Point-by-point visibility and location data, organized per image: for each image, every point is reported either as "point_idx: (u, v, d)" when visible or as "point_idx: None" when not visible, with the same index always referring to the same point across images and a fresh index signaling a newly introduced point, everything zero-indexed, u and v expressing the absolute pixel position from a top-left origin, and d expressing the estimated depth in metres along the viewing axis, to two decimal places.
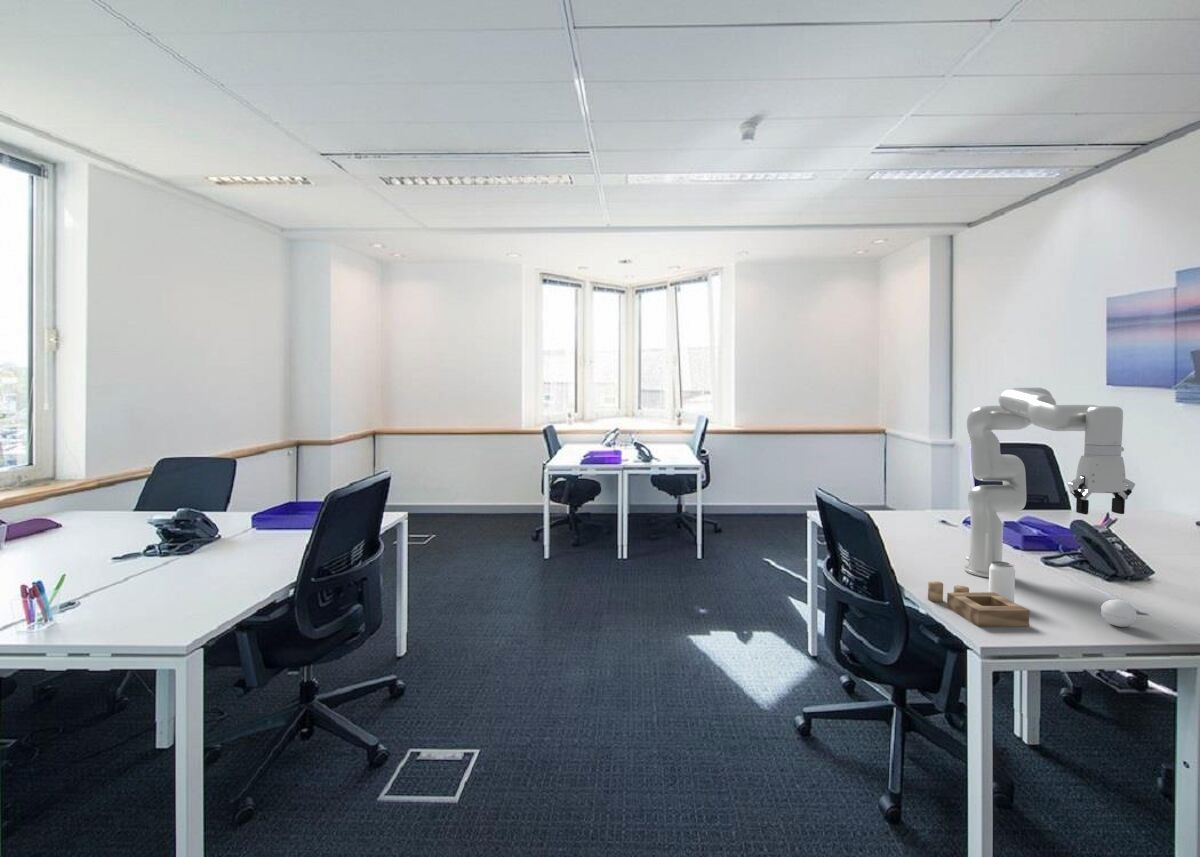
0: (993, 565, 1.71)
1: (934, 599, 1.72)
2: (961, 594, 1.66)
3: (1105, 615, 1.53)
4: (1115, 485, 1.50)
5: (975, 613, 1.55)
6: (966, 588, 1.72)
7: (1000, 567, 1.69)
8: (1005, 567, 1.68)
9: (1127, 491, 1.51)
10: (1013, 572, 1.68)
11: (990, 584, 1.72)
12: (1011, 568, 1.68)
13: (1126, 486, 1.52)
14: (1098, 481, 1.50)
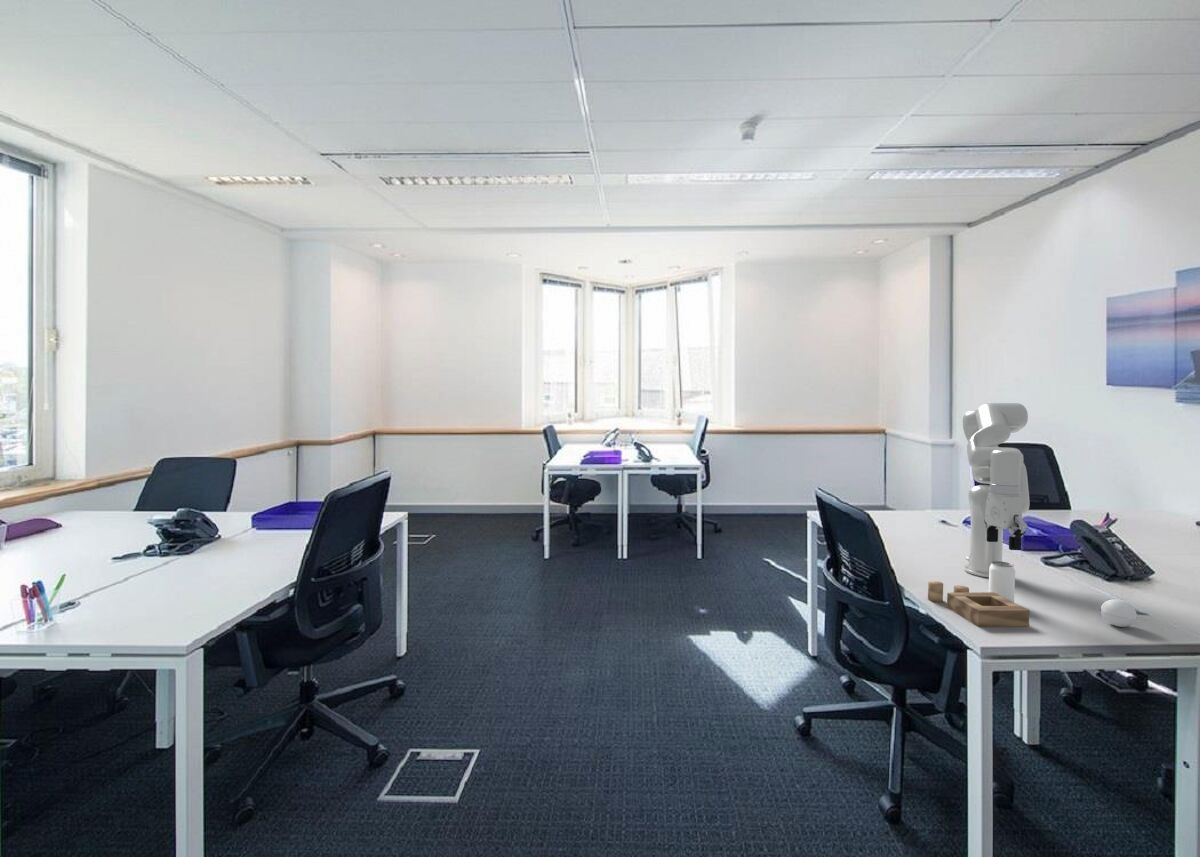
0: (993, 565, 1.71)
1: (934, 599, 1.72)
2: (961, 594, 1.66)
3: (1105, 615, 1.53)
4: None
5: (975, 613, 1.55)
6: (966, 588, 1.72)
7: (1000, 567, 1.69)
8: (1005, 567, 1.68)
9: None
10: (1013, 572, 1.68)
11: (990, 584, 1.72)
12: (1011, 568, 1.68)
13: None
14: None
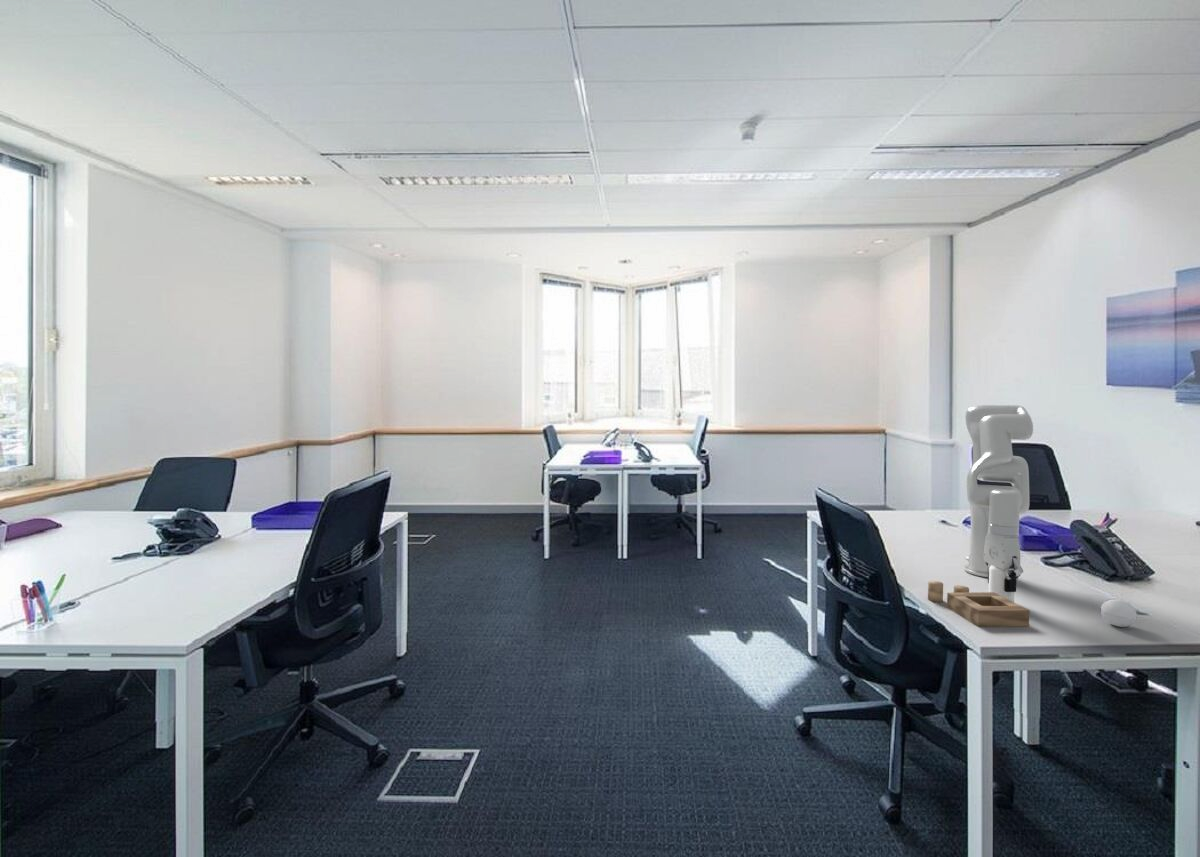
0: (993, 565, 1.71)
1: (934, 599, 1.72)
2: (961, 594, 1.66)
3: (1105, 615, 1.53)
4: None
5: (975, 613, 1.55)
6: (966, 588, 1.72)
7: None
8: None
9: None
10: None
11: (990, 584, 1.72)
12: None
13: None
14: None
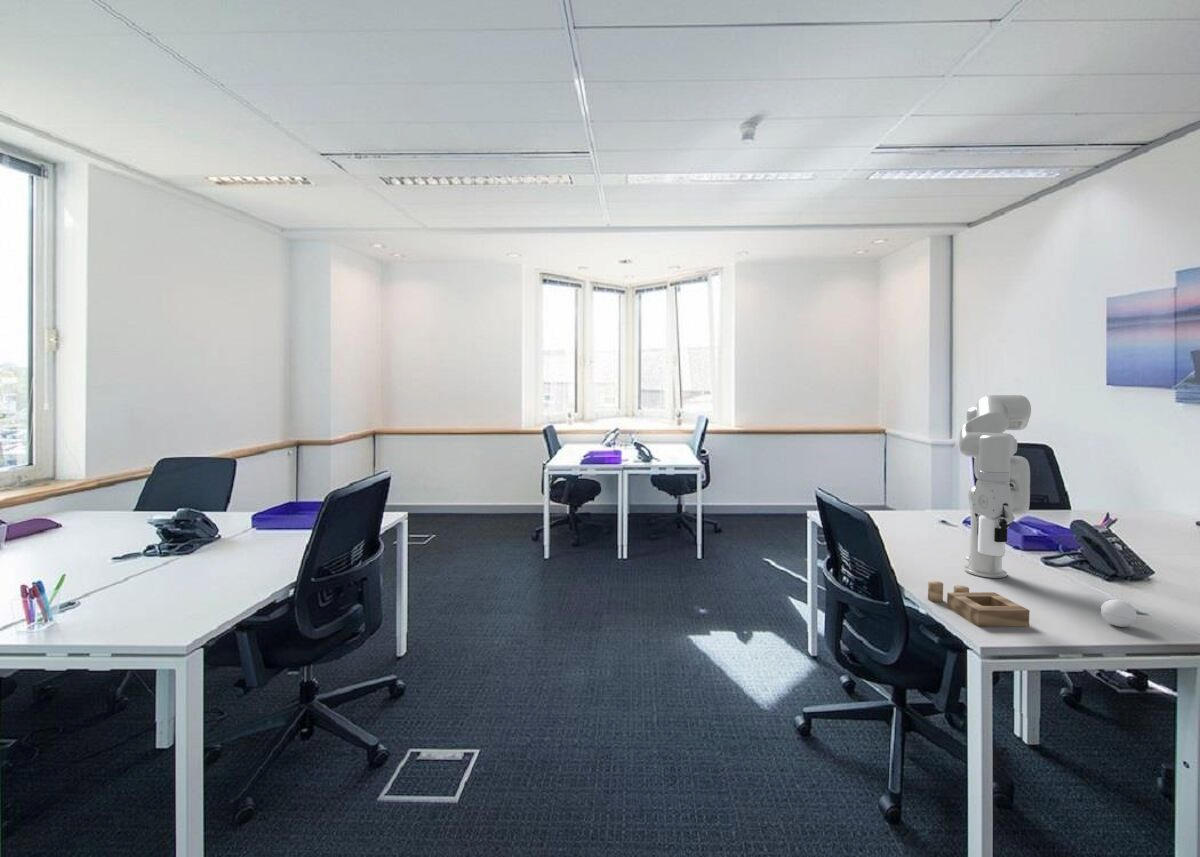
0: None
1: (934, 599, 1.72)
2: (961, 594, 1.66)
3: (1105, 615, 1.53)
4: None
5: (975, 613, 1.55)
6: (966, 588, 1.72)
7: None
8: None
9: None
10: None
11: (980, 535, 1.62)
12: None
13: None
14: None
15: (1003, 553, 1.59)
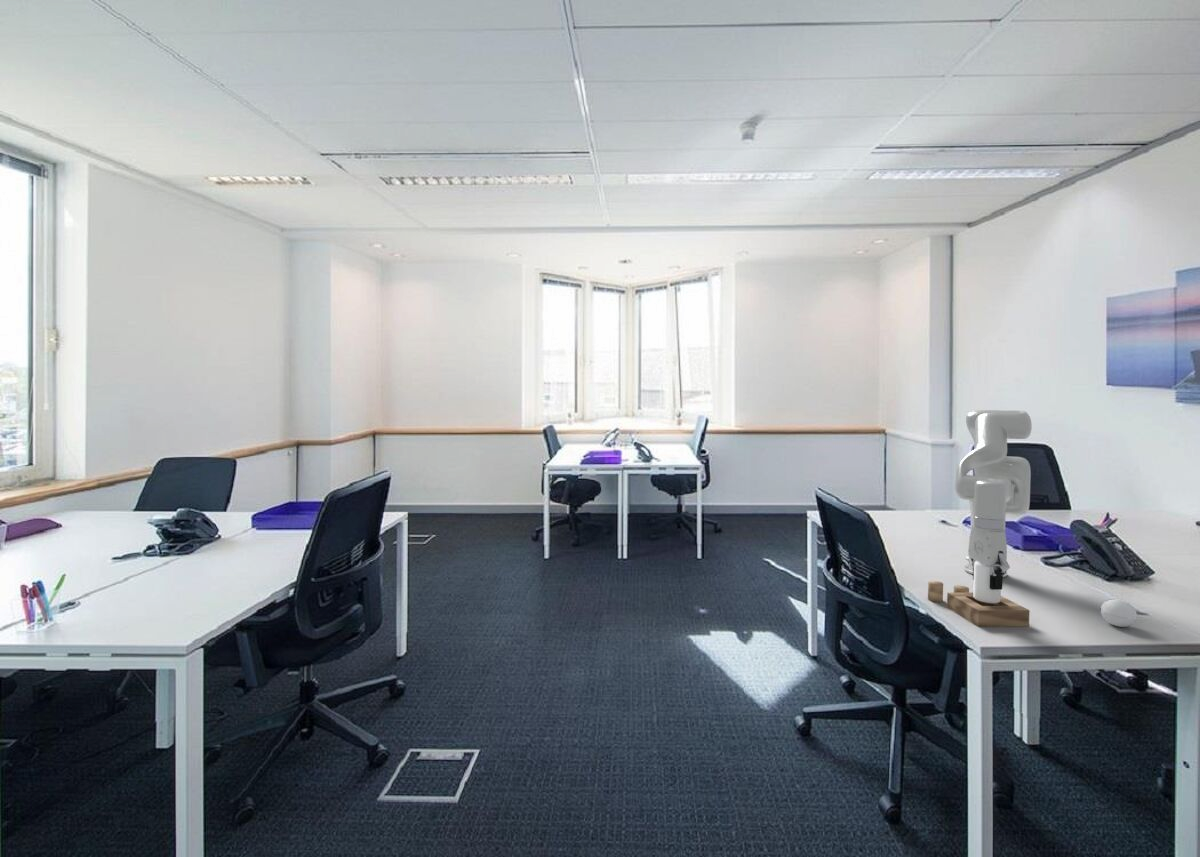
0: (978, 561, 1.60)
1: (934, 599, 1.72)
2: (961, 594, 1.66)
3: (1105, 615, 1.53)
4: None
5: (975, 613, 1.55)
6: (966, 588, 1.72)
7: None
8: None
9: None
10: None
11: (975, 581, 1.61)
12: None
13: None
14: None
15: (998, 600, 1.58)
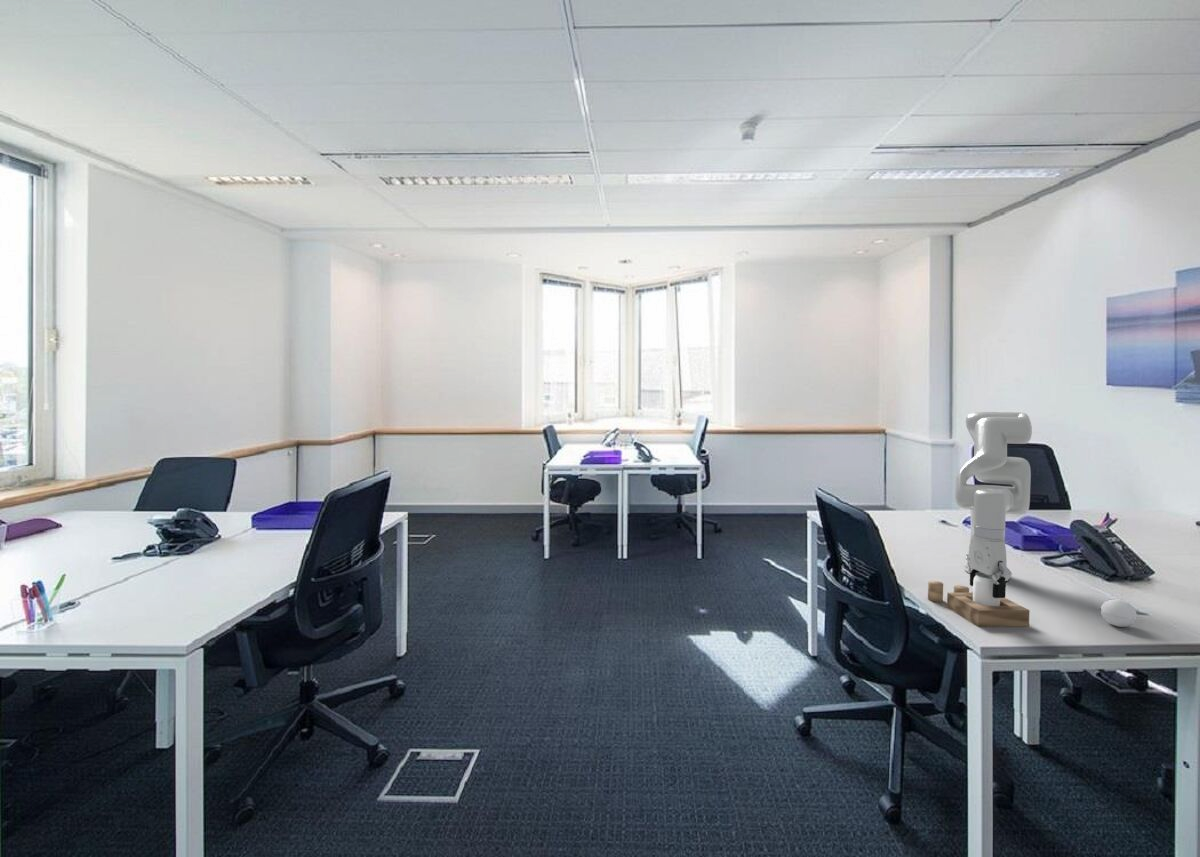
0: (977, 577, 1.60)
1: (934, 599, 1.72)
2: (961, 594, 1.66)
3: (1105, 615, 1.53)
4: None
5: (975, 613, 1.55)
6: (966, 588, 1.72)
7: (984, 579, 1.58)
8: (990, 579, 1.58)
9: None
10: None
11: (974, 597, 1.61)
12: None
13: None
14: None
15: None
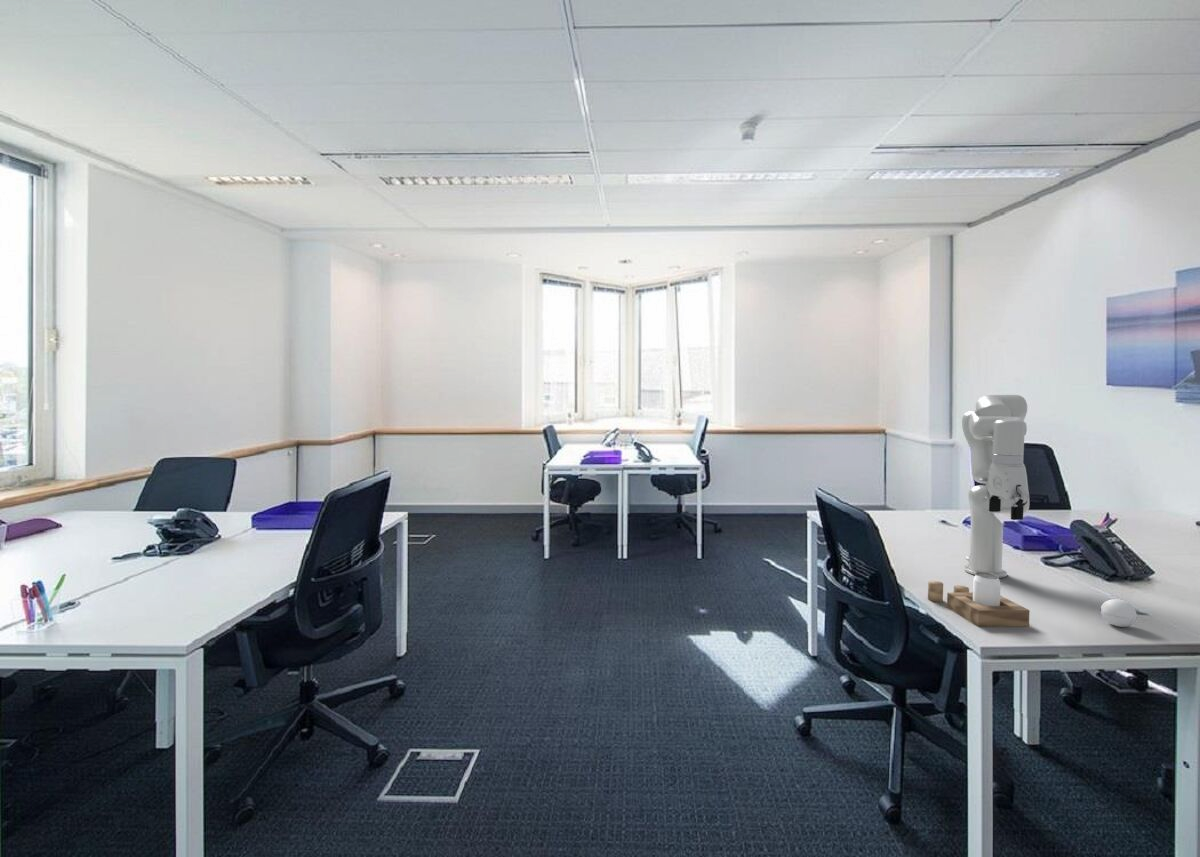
0: (977, 577, 1.60)
1: (934, 599, 1.72)
2: (961, 594, 1.66)
3: (1105, 615, 1.53)
4: None
5: (975, 613, 1.55)
6: (966, 588, 1.72)
7: (984, 579, 1.58)
8: (990, 579, 1.58)
9: None
10: (998, 584, 1.58)
11: (974, 597, 1.61)
12: (996, 580, 1.58)
13: None
14: None
15: None
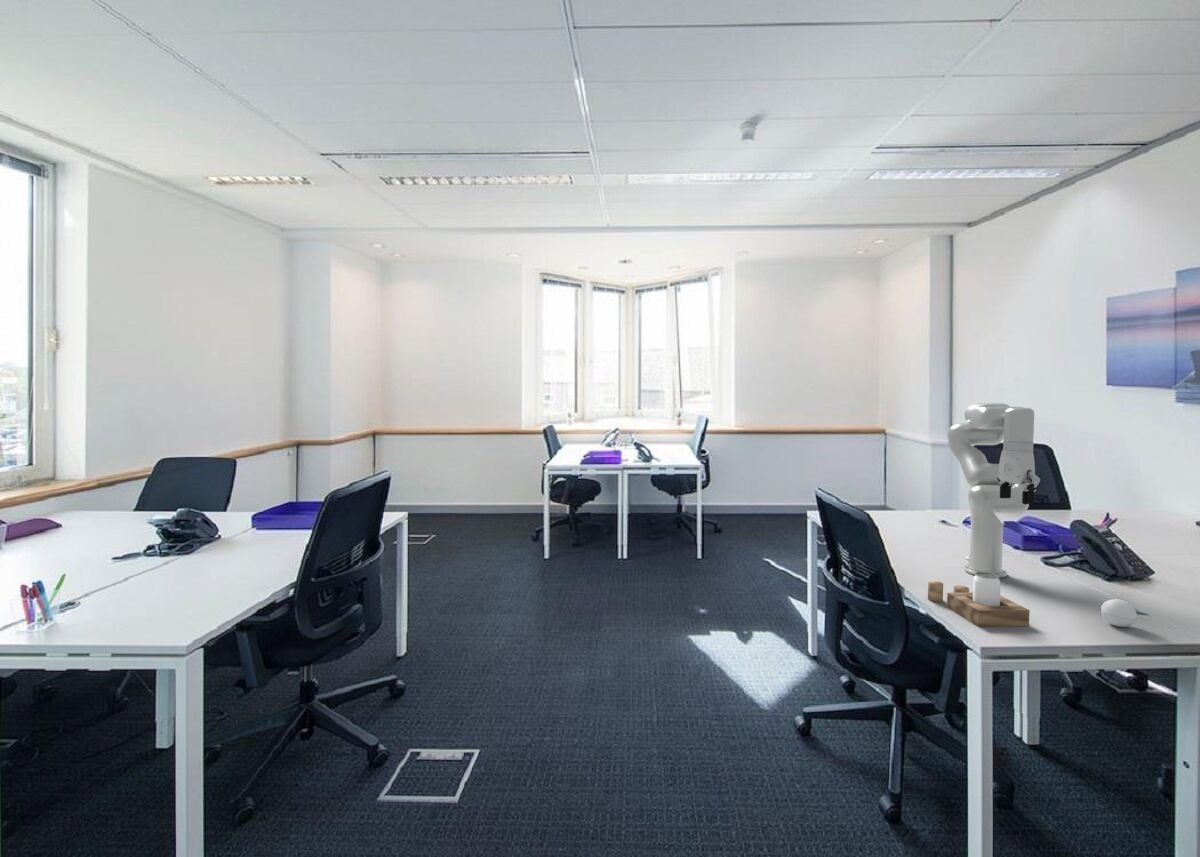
0: (977, 577, 1.60)
1: (934, 599, 1.72)
2: (961, 594, 1.66)
3: (1105, 615, 1.53)
4: None
5: (975, 613, 1.55)
6: (966, 588, 1.72)
7: (984, 579, 1.58)
8: (990, 579, 1.58)
9: None
10: (998, 584, 1.58)
11: (974, 597, 1.61)
12: (996, 580, 1.58)
13: None
14: None
15: None
